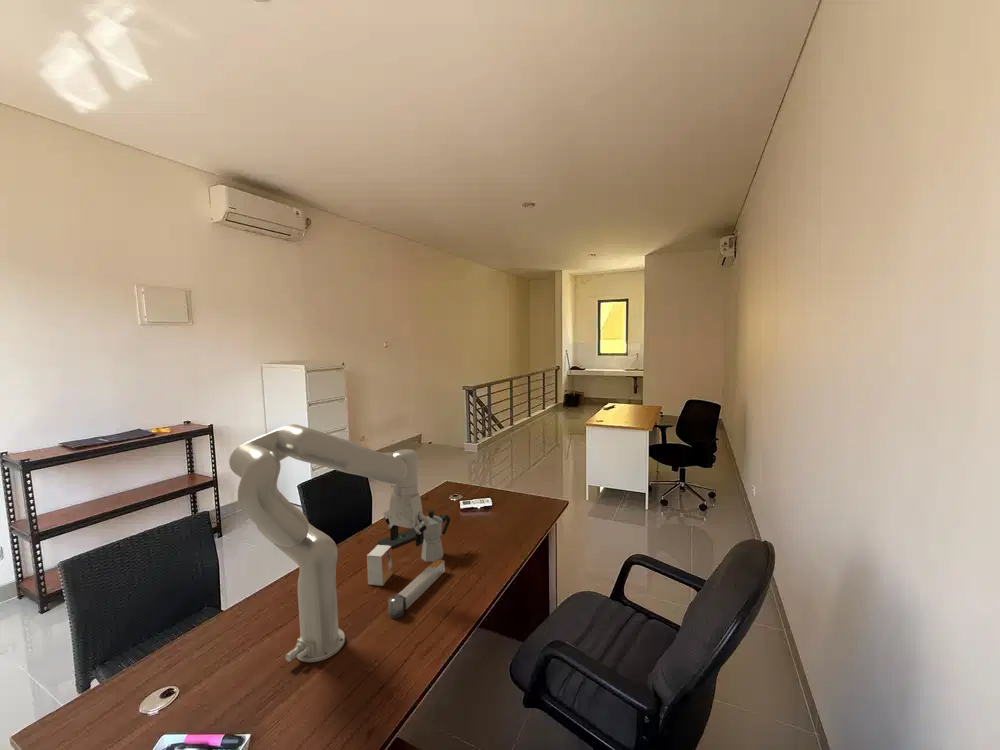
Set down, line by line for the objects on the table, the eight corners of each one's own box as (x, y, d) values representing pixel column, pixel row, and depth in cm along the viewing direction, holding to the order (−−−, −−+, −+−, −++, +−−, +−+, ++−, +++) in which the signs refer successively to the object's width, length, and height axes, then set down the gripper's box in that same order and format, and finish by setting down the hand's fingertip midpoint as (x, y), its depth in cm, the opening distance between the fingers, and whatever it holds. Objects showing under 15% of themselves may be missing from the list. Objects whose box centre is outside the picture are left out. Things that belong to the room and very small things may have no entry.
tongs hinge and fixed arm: (397, 620, 128) (397, 604, 128) (385, 617, 130) (385, 601, 129) (446, 572, 154) (445, 559, 154) (435, 570, 156) (435, 556, 155)
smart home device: (377, 540, 177) (418, 525, 191) (377, 545, 177) (418, 529, 191) (387, 547, 171) (429, 531, 185) (387, 551, 171) (429, 534, 185)
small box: (382, 586, 146) (381, 556, 145) (367, 584, 147) (366, 555, 146) (393, 573, 154) (392, 545, 153) (378, 572, 155) (377, 544, 154)
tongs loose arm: (406, 609, 133) (405, 597, 132) (402, 608, 133) (401, 595, 133) (444, 571, 154) (444, 560, 154) (440, 570, 155) (440, 559, 154)
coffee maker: (424, 567, 158) (422, 519, 156) (412, 558, 165) (410, 512, 163) (457, 553, 168) (456, 508, 166) (444, 545, 174) (443, 502, 173)
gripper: (375, 489, 137) (377, 541, 138) (421, 496, 129) (423, 552, 131) (391, 482, 143) (392, 532, 145) (435, 489, 136) (436, 541, 138)
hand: (406, 541), depth 138 cm, fingers open, 9 cm apart
